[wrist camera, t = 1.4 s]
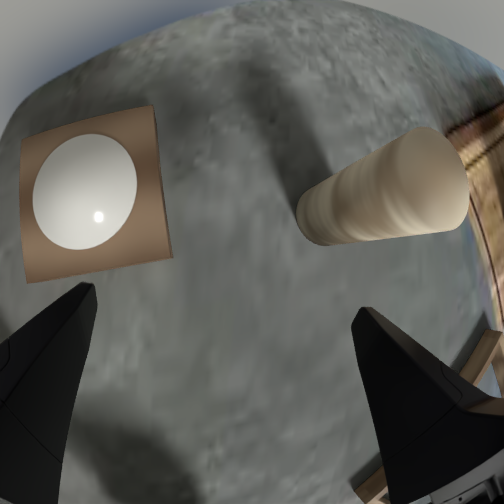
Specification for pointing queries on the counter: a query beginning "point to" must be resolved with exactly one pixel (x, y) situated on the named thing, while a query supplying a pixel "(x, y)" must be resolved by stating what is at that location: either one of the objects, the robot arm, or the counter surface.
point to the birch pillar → (389, 193)
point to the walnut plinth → (92, 196)
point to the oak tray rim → (487, 350)
